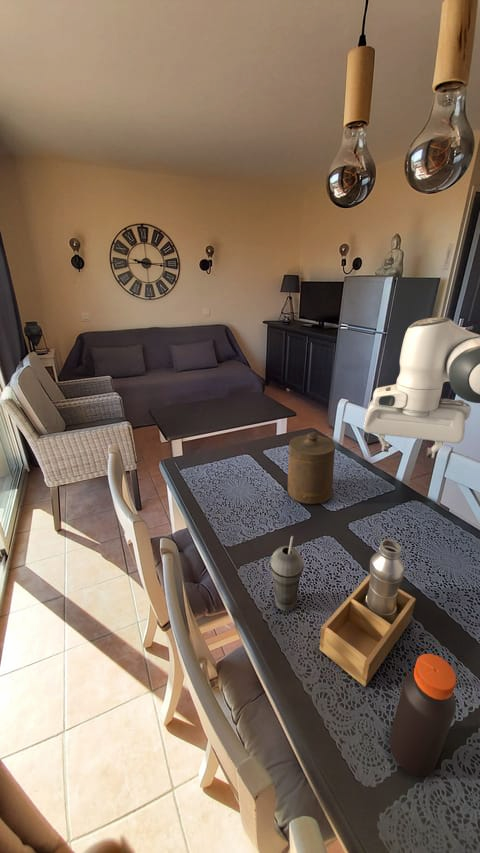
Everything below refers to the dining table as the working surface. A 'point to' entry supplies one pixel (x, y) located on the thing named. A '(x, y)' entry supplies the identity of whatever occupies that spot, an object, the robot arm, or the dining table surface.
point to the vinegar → (423, 715)
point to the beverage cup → (286, 575)
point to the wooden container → (311, 468)
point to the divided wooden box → (363, 633)
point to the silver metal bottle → (385, 581)
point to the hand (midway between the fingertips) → (406, 453)
